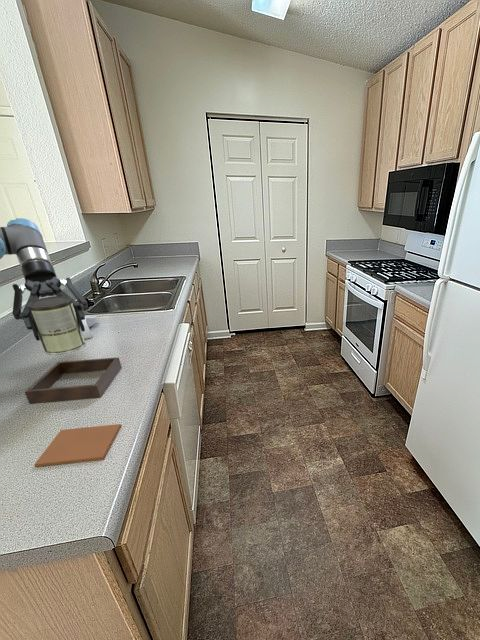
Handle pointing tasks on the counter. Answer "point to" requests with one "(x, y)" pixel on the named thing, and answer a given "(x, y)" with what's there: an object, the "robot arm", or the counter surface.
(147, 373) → the counter surface
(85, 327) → the spoon rest
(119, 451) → the counter surface
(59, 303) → the coffee can
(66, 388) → the rectangular frame
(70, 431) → the cork mat
